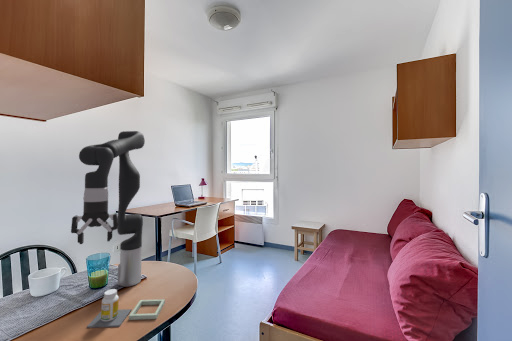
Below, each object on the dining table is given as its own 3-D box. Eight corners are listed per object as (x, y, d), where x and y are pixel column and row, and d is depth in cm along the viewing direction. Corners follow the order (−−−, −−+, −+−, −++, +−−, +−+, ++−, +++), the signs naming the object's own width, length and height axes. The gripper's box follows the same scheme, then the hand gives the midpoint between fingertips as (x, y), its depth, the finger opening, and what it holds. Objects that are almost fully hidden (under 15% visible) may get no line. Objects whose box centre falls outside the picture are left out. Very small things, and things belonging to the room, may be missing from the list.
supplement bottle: (102, 324, 79) (102, 297, 79) (100, 316, 83) (100, 291, 83) (119, 318, 83) (120, 292, 83) (116, 310, 87) (117, 286, 87)
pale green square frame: (128, 319, 83) (128, 315, 83) (140, 303, 93) (140, 299, 93) (156, 318, 84) (156, 314, 84) (164, 302, 94) (164, 299, 94)
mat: (86, 327, 78) (86, 326, 78) (102, 311, 87) (102, 310, 87) (119, 326, 79) (119, 325, 79) (131, 310, 88) (131, 309, 88)
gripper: (119, 197, 91) (118, 237, 91) (75, 198, 85) (75, 241, 85) (116, 200, 84) (115, 243, 84) (69, 201, 78) (68, 248, 78)
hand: (95, 242), depth 84 cm, fingers open, 8 cm apart
